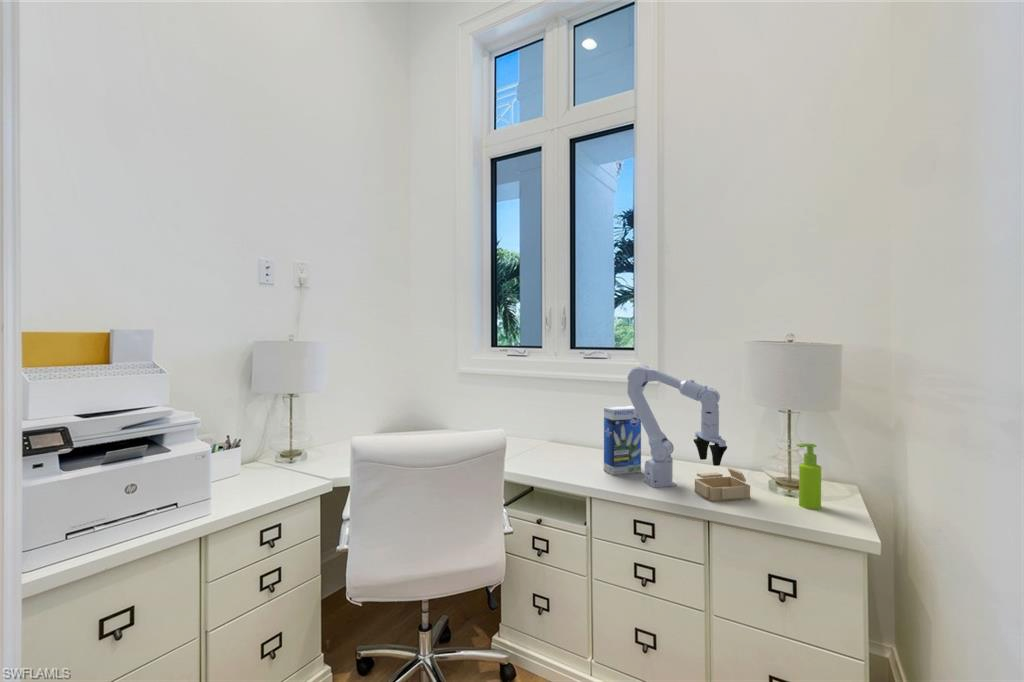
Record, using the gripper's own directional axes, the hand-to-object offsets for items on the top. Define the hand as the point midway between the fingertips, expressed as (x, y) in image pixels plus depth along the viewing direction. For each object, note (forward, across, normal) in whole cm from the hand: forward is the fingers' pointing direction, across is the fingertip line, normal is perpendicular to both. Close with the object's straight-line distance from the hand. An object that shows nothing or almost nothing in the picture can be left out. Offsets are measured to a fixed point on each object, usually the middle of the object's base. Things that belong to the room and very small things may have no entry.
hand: (709, 462), depth 161 cm
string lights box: (+10, +28, +20) cm, 36 cm away
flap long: (+5, 0, -2) cm, 5 cm away
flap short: (+5, -4, -8) cm, 11 cm away
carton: (+10, -4, -2) cm, 11 cm away
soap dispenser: (+10, -19, -22) cm, 31 cm away
